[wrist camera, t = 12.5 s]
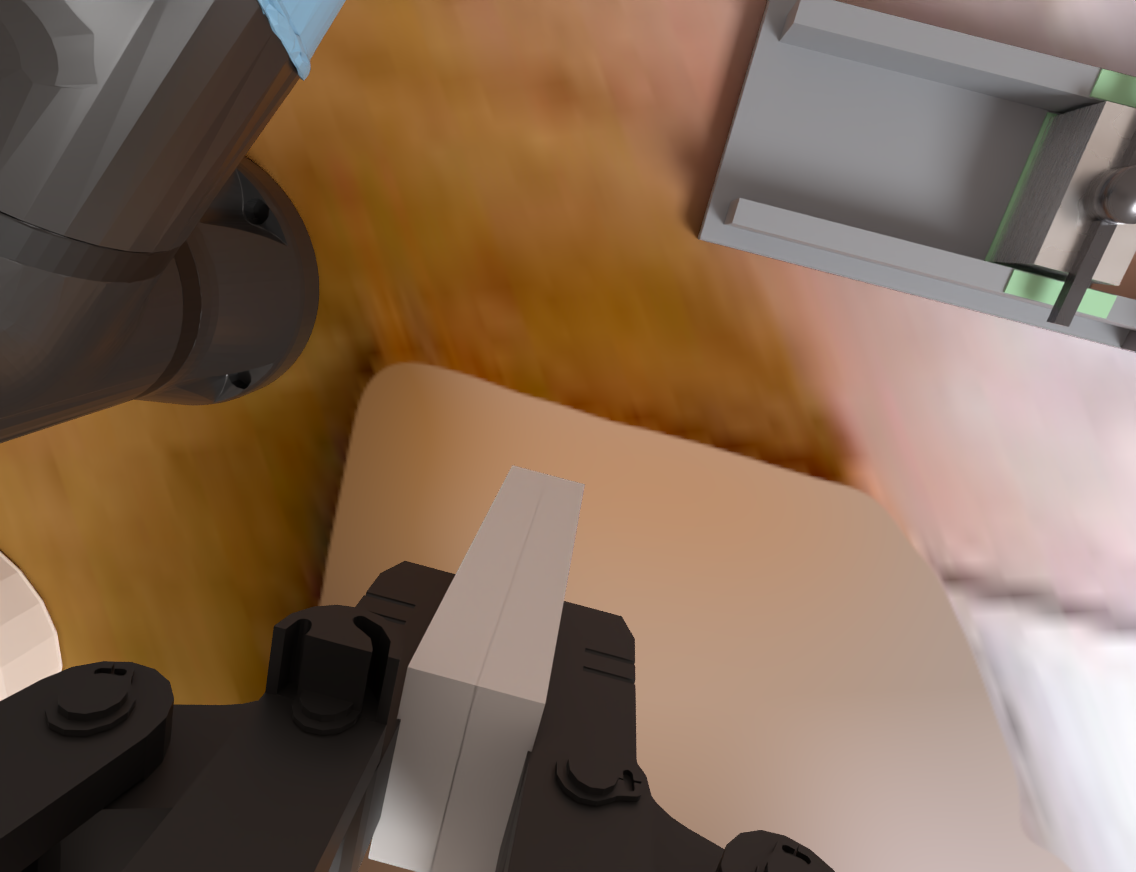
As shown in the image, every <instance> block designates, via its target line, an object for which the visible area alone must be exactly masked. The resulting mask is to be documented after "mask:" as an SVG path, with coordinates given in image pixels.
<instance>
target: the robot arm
mask: <svg viewBox="0 0 1136 872" xmlns="http://www.w3.org/2000/svg"><path fill="white" fill-rule="evenodd" d="M345 1H346V0H0V443H3V442H6V441H9V440H12V439H15V438H18V437H21V436H24V435H27V434H30V433H33V432H36V431H39V430H42V429H45V428H48V427H51V426H54V425H58V424H61V423H64V422H67V421H70V420H73V419H76V418H79V417H82V416H85V415H88V414H91V413H94V412H97V411H100V410H103V409H106V408H109V407H112V406H115V405H118V404H121V403H124V402H127V401H130V400H133V399H134V400H144V401H154V402H163V403H173V404H183V405H208V404H215V403H221V402H225V401H230V400H233V399H236V398H238V397H241V396H244V395H246V394H249V393H251V392H254V391H256V390H258V389H261V388H263V387H265V386H266V385H268V384H270V383H271V382H273V381H275V380H276V379H277V378H279V377H280V376H281V375H282V374H283V373H285V372H286V371H287V370H288V369H289V368H290V367H291V365H292V364H293V363H294V362H295V361H296V359H297V358H298V357H299V355H300V354H301V352H302V351H303V349H304V347H305V345H306V344H307V342H308V339H309V337H310V335H311V332H312V329H313V326H314V323H315V319H316V315H317V309H318V301H319V276H318V268H317V262H316V257H315V253H314V249H313V246H312V243H311V240H310V237H309V235H308V232H307V230H306V227H305V225H304V223H303V221H302V219H301V217H300V215H299V214H298V212H297V210H296V208H295V207H294V205H293V204H292V202H291V201H290V199H289V198H288V197H287V195H286V194H285V193H284V191H283V190H282V189H281V188H280V187H279V186H278V184H277V183H276V182H275V181H274V180H273V179H272V178H271V177H270V176H269V175H268V174H267V173H266V172H264V171H263V170H262V169H261V168H260V167H259V166H257V165H256V164H255V163H253V162H252V161H250V160H249V159H247V158H246V157H244V156H245V155H246V153H247V152H248V150H249V149H250V148H251V146H252V145H253V143H254V142H255V140H256V139H257V138H258V136H259V135H260V133H261V132H262V131H263V129H264V128H265V126H266V125H267V123H268V122H269V121H270V119H271V118H272V116H273V115H274V114H275V112H276V111H277V109H278V108H279V107H280V105H281V104H282V102H283V101H284V99H285V98H286V97H287V95H288V94H289V92H290V91H291V90H292V88H293V87H294V85H295V84H296V82H297V81H298V80H299V78H301V79H302V80H305V79H306V77H307V76H308V75H309V72H310V69H311V67H310V59H311V58H312V56H313V54H314V52H315V50H316V49H317V47H318V45H319V43H320V42H321V40H322V38H323V37H324V35H325V34H326V32H327V30H328V29H329V27H330V25H331V24H332V22H333V20H334V19H335V17H336V16H337V14H338V12H339V11H340V9H341V7H342V6H343V4H344V2H345ZM584 486H585V485H584V484H581V483H578V482H574V481H570V480H566V479H563V478H559V477H555V476H551V475H548V474H544V473H540V472H536V471H532V470H529V469H525V468H521V467H517V466H514V465H512V467H511V469H510V470H509V473H508V474H507V476H506V478H505V480H504V482H503V484H502V486H501V488H500V490H499V492H498V494H497V496H496V498H495V499H494V501H493V503H492V505H491V507H490V509H489V511H488V513H487V515H486V517H485V519H484V521H483V523H482V525H481V527H480V528H479V530H478V532H477V534H476V536H475V538H474V540H473V542H472V544H471V546H470V548H469V550H468V552H467V553H466V555H465V557H464V559H463V561H462V563H461V565H460V567H459V569H458V571H457V573H456V574H452V573H448V572H444V571H441V570H437V569H434V568H429V567H426V566H422V565H419V564H415V563H411V562H407V561H404V562H402V563H400V564H398V565H396V566H394V567H392V568H390V569H388V570H386V571H384V572H382V573H380V575H379V576H378V577H377V579H376V580H375V581H374V583H373V584H372V585H371V587H370V588H369V590H368V591H367V593H366V596H363V597H362V599H361V600H360V601H359V603H358V604H357V606H356V607H349V606H342V605H329V606H316V607H311V608H308V609H305V610H302V611H299V612H295V613H292V614H290V615H289V616H287V617H286V618H285V619H283V620H282V621H280V622H279V623H278V624H276V625H275V626H274V630H273V638H272V646H271V653H270V661H269V669H268V676H267V684H266V691H265V693H264V695H263V696H262V697H261V698H260V700H259V701H254V702H250V703H245V704H234V705H173V703H174V697H173V693H172V689H171V685H170V682H169V681H168V680H167V679H166V678H165V677H163V676H162V675H161V674H160V673H159V672H158V671H156V670H155V669H152V668H149V667H146V666H143V665H139V664H136V663H133V662H107V661H103V662H97V663H92V664H86V665H81V666H75V667H71V668H69V669H66V670H63V671H61V672H58V673H56V674H53V675H51V676H48V677H46V678H43V679H41V680H39V681H37V682H36V683H34V684H32V685H30V686H28V687H26V688H24V689H22V690H20V691H18V692H17V693H15V694H13V695H11V696H9V697H7V698H5V699H3V700H1V701H0V872H358V869H359V867H360V865H361V862H362V860H363V857H364V855H365V853H366V851H367V848H368V846H369V844H370V841H371V839H372V843H371V848H370V853H369V857H368V858H369V859H372V860H376V861H380V862H384V863H388V864H391V865H394V866H398V867H402V868H405V869H409V870H413V871H416V872H835V871H834V870H833V869H832V868H830V867H829V866H828V865H827V864H826V863H825V862H824V861H822V859H820V858H819V857H818V856H817V855H816V854H815V853H814V852H812V851H811V850H810V849H808V848H806V847H805V846H803V845H801V844H799V843H797V842H795V841H794V840H792V839H790V838H788V837H786V836H784V835H780V834H775V833H771V832H767V831H763V830H758V831H751V832H744V833H740V834H739V835H738V836H737V837H735V838H734V839H733V840H732V841H731V842H729V843H728V844H727V845H726V847H725V849H723V848H721V847H719V846H717V845H716V844H714V843H712V842H711V841H709V840H707V839H706V838H704V837H702V836H700V835H699V834H697V833H695V832H693V831H692V830H690V829H688V828H687V827H685V826H684V825H682V824H681V823H679V822H678V821H676V820H675V819H673V818H672V817H671V816H670V815H669V814H667V813H666V812H665V811H664V810H663V809H662V808H661V807H660V806H659V805H658V804H657V803H656V802H655V800H654V799H653V797H652V796H651V793H650V789H649V785H648V781H647V777H646V775H645V774H644V772H643V771H642V769H641V768H640V767H639V765H638V764H637V760H636V700H635V699H636V698H635V685H634V683H635V665H634V663H635V639H634V637H633V635H632V633H631V632H630V630H629V629H628V627H627V625H626V623H625V621H624V620H623V618H622V617H621V616H618V615H614V614H611V613H607V612H603V611H599V610H596V609H592V608H588V607H584V606H581V605H577V604H573V603H569V602H566V601H564V597H565V591H566V585H567V580H568V575H569V569H570V564H571V558H572V553H573V547H574V541H575V536H576V530H577V525H578V519H579V514H580V508H581V503H582V497H583V492H584ZM372 837H373V838H372Z"/></svg>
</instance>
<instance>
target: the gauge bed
mask: <svg viewBox="0 0 1136 872" xmlns="http://www.w3.org/2000/svg"><path fill="white" fill-rule="evenodd" d="M1105 101H1109V102H1113V103H1117V104H1121V105H1124V106H1128V107H1132V108H1136V77H1134V76H1130V75H1126V74H1122V73H1118V72H1114V71H1110V70H1106V69H1103V68H1099V67H1095V66H1091V65H1087V64H1083V63H1079V62H1075V61H1071V60H1067V59H1063V58H1059V57H1055V56H1051V55H1047V54H1043V53H1039V52H1036V51H1032V50H1028V49H1024V48H1020V47H1016V46H1012V45H1008V44H1004V43H1000V42H996V41H992V40H988V39H984V38H980V37H976V36H972V35H969V34H965V33H961V32H957V31H953V30H949V29H945V28H941V27H937V26H933V25H929V24H925V23H921V22H917V21H913V20H909V19H905V18H901V17H898V16H894V15H890V14H886V13H882V12H878V11H874V10H870V9H866V8H862V7H858V6H854V5H850V4H846V3H842V2H838V1H834V0H768V1H767V5H766V8H765V11H764V15H763V18H762V22H761V25H760V28H759V32H758V35H757V39H756V42H755V45H754V49H753V52H752V56H751V59H750V62H749V66H748V69H747V73H746V76H745V79H744V83H743V86H742V90H741V93H740V96H739V100H738V103H737V107H736V110H735V113H734V117H733V120H732V124H731V127H730V130H729V134H728V137H727V141H726V144H725V147H724V151H723V154H722V158H721V161H720V164H719V168H718V171H717V175H716V178H715V181H714V185H713V188H712V192H711V195H710V198H709V202H708V205H707V209H706V212H705V215H704V219H703V222H702V226H701V229H700V232H699V236H698V239H699V240H703V241H707V242H711V243H715V244H719V245H723V246H726V247H730V248H734V249H738V250H742V251H746V252H750V253H753V254H757V255H761V256H765V257H769V258H773V259H777V260H780V261H784V262H788V263H792V264H796V265H800V266H804V267H807V268H811V269H815V270H819V271H823V272H827V273H831V274H834V275H838V276H842V277H846V278H850V279H854V280H858V281H861V282H865V283H869V284H873V285H877V286H881V287H885V288H888V289H892V290H896V291H900V292H904V293H908V294H912V295H915V296H919V297H923V298H927V299H931V300H935V301H939V302H942V303H946V304H950V305H954V306H958V307H962V308H966V309H969V310H973V311H977V312H981V313H985V314H989V315H993V316H996V317H1000V318H1004V319H1008V320H1012V321H1016V322H1019V323H1023V324H1027V325H1031V326H1035V327H1039V328H1043V329H1046V330H1050V331H1054V332H1058V333H1062V334H1066V335H1070V336H1073V337H1077V338H1081V339H1085V340H1089V341H1093V342H1097V343H1100V344H1104V345H1108V346H1112V347H1116V348H1120V349H1124V350H1127V351H1131V352H1135V353H1136V252H1135V254H1134V256H1133V258H1132V260H1131V262H1130V264H1129V266H1128V268H1127V270H1126V272H1125V274H1124V276H1123V278H1122V280H1121V282H1120V284H1119V286H1115V285H1104V284H1093V283H1090V284H1089V286H1088V288H1087V290H1086V292H1085V294H1084V296H1083V299H1082V301H1081V303H1080V305H1079V307H1078V309H1077V311H1076V313H1075V315H1074V317H1073V320H1072V322H1071V324H1070V326H1069V327H1066V326H1061V325H1057V324H1053V323H1049V322H1046V321H1047V319H1048V317H1049V315H1050V313H1051V311H1052V308H1053V306H1054V304H1055V302H1056V300H1057V298H1058V295H1059V293H1060V291H1061V289H1062V287H1063V285H1064V283H1065V281H1063V280H1059V279H1055V278H1051V277H1048V276H1044V275H1040V274H1036V273H1032V272H1028V271H1024V270H1020V269H1017V268H1013V267H1009V266H1005V265H1001V264H997V263H993V262H990V261H989V260H990V258H991V255H992V253H993V251H994V248H995V246H996V244H997V241H998V239H999V237H1000V234H1001V232H1002V230H1003V227H1004V225H1005V223H1006V220H1007V218H1008V216H1009V213H1010V211H1011V209H1012V206H1013V204H1014V201H1015V199H1016V197H1017V194H1018V192H1019V190H1020V187H1021V185H1022V183H1023V180H1024V178H1025V176H1026V173H1027V171H1028V169H1029V166H1030V164H1031V162H1032V159H1033V157H1034V154H1035V152H1036V150H1037V147H1038V145H1039V143H1040V140H1041V138H1042V136H1043V133H1044V131H1045V129H1046V126H1047V124H1048V122H1049V119H1050V117H1053V116H1057V115H1060V114H1064V113H1067V112H1071V111H1074V110H1077V109H1081V108H1084V107H1088V106H1091V105H1095V104H1098V103H1101V102H1105Z"/></svg>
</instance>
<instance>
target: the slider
mask: <svg viewBox="0 0 1136 872" xmlns="http://www.w3.org/2000/svg"><path fill="white" fill-rule="evenodd" d="M1135 252H1136V108H1132V107H1128V106H1124V105H1121V104H1117V103H1113V102H1109V101H1105V102H1101V103H1098V104H1095V105H1091V106H1088V107H1084V108H1081V109H1077V110H1074V111H1071V112H1067V113H1064V114H1060V115H1057V116H1053V117H1050V119H1049V122H1048V124H1047V126H1046V129H1045V131H1044V133H1043V136H1042V138H1041V140H1040V143H1039V145H1038V147H1037V150H1036V152H1035V154H1034V157H1033V159H1032V162H1031V164H1030V166H1029V169H1028V171H1027V173H1026V176H1025V178H1024V180H1023V183H1022V185H1021V187H1020V190H1019V192H1018V194H1017V197H1016V199H1015V201H1014V204H1013V206H1012V209H1011V211H1010V213H1009V216H1008V218H1007V220H1006V223H1005V225H1004V227H1003V230H1002V232H1001V234H1000V237H999V239H998V241H997V244H996V246H995V248H994V251H993V253H992V255H991V258H990V260H989V261H990V262H993V263H997V264H1001V265H1005V266H1009V267H1013V268H1017V269H1020V270H1024V271H1028V272H1032V273H1036V274H1040V275H1044V276H1048V277H1051V278H1055V279H1059V280H1063V281H1065V283H1064V285H1063V287H1062V289H1061V291H1060V293H1059V295H1058V298H1057V300H1056V302H1055V304H1054V306H1053V308H1052V311H1051V313H1050V315H1049V317H1048V319H1047V321H1046V322H1049V323H1053V324H1057V325H1061V326H1066V327H1069V326H1070V324H1071V322H1072V320H1073V317H1074V315H1075V313H1076V311H1077V309H1078V307H1079V305H1080V303H1081V301H1082V299H1083V296H1084V294H1085V292H1086V290H1087V288H1088V286H1089V284H1090V283H1093V284H1104V285H1115V286H1119V284H1120V282H1121V280H1122V278H1123V276H1124V274H1125V272H1126V270H1127V268H1128V266H1129V264H1130V262H1131V260H1132V258H1133V256H1134V254H1135Z"/></svg>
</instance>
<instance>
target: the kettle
mask: <svg viewBox="0 0 1136 872" xmlns="http://www.w3.org/2000/svg"><path fill="white" fill-rule="evenodd" d="M61 670H62V659H61V653H60V647H59V641H58V635H57V631H56V628H55V626H54V624H53V621H52V619H51V617H50V615H49V612H48V610H47V608H46V605H45V603H44V601H43V599H42V598H41V597H40V595H39V594H38V592H37V591H36V590H35V588H34V587H33V586H32V584H31V583H30V581H29V580H28V579H27V577H26V576H25V575H24V573H23V572H22V571H21V569H19V568H18V567H17V566H16V565H15V564H14V563H13V562H12V561H11V560H10V559H9V558H7V557H6V556H5V555H4V554H3V553H2V552H1V551H0V701H1V700H3V699H5V698H7V697H9V696H11V695H13V694H15V693H17V692H18V691H20V690H22V689H24V688H26V687H28V686H30V685H32V684H34V683H36V682H37V681H39V680H41V679H43V678H46V677H48V676H51V675H53V674H56V673H58V672H61Z"/></svg>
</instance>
